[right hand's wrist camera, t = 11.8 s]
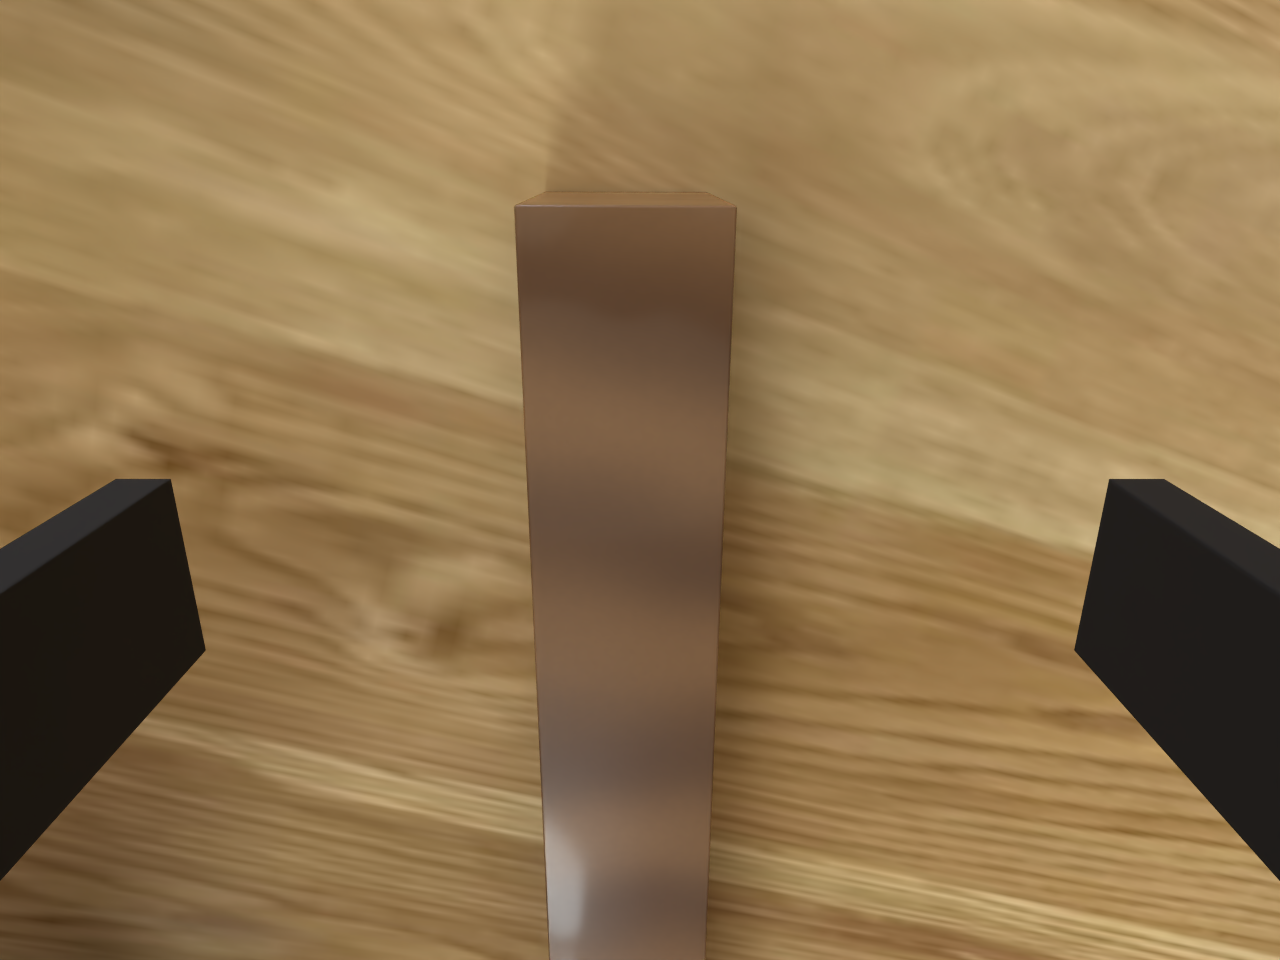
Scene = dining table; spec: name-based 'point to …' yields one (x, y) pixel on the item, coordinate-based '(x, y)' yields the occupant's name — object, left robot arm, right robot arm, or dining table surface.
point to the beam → (626, 554)
